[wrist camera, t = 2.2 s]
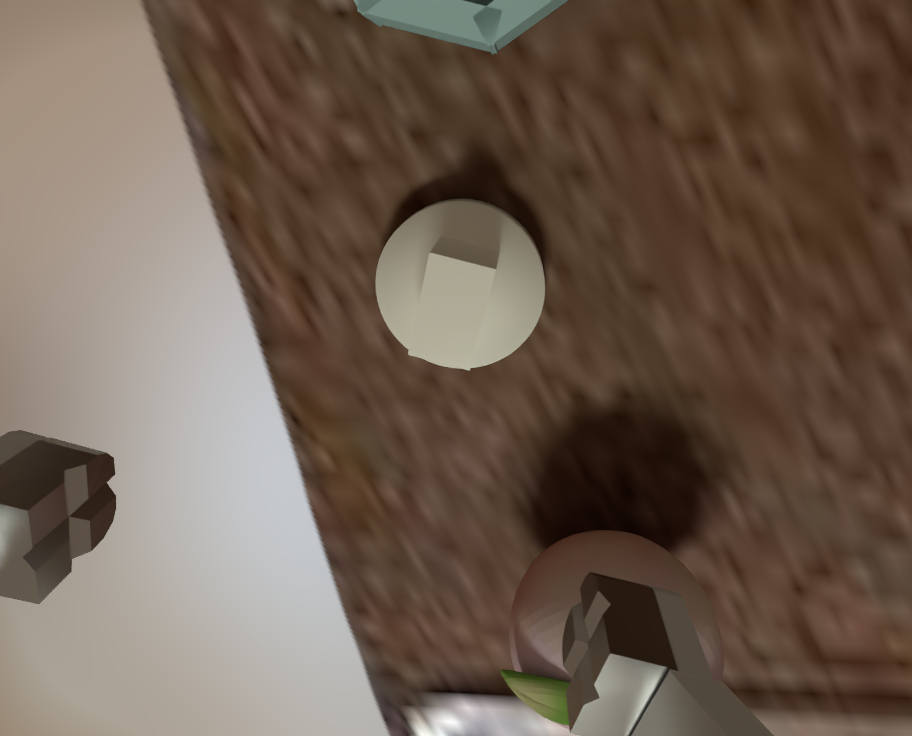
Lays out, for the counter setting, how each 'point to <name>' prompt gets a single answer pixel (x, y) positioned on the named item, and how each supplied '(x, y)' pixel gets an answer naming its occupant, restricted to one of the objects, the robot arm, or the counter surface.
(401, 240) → the cap
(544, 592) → the decorative fruit
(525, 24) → the studded octagonal holder
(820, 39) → the counter surface
